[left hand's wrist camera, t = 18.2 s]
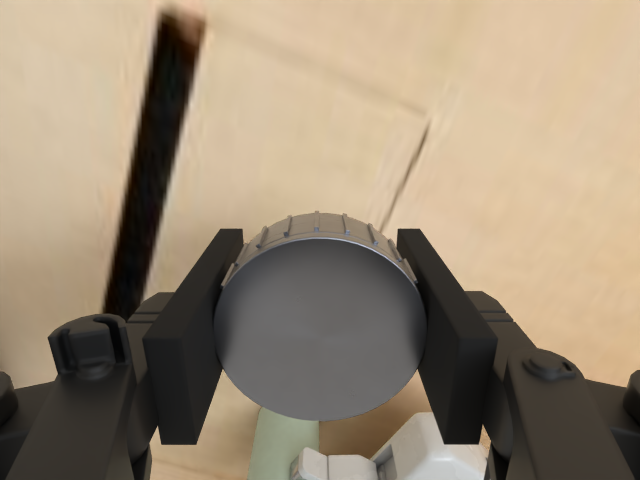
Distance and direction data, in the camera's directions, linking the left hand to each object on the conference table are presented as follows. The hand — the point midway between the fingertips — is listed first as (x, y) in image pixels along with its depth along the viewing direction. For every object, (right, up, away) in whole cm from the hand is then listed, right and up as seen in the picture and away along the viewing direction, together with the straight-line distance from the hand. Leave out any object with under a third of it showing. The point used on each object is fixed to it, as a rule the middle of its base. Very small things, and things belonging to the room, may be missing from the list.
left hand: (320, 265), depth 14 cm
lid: (0, -1, -4) cm, 4 cm away
